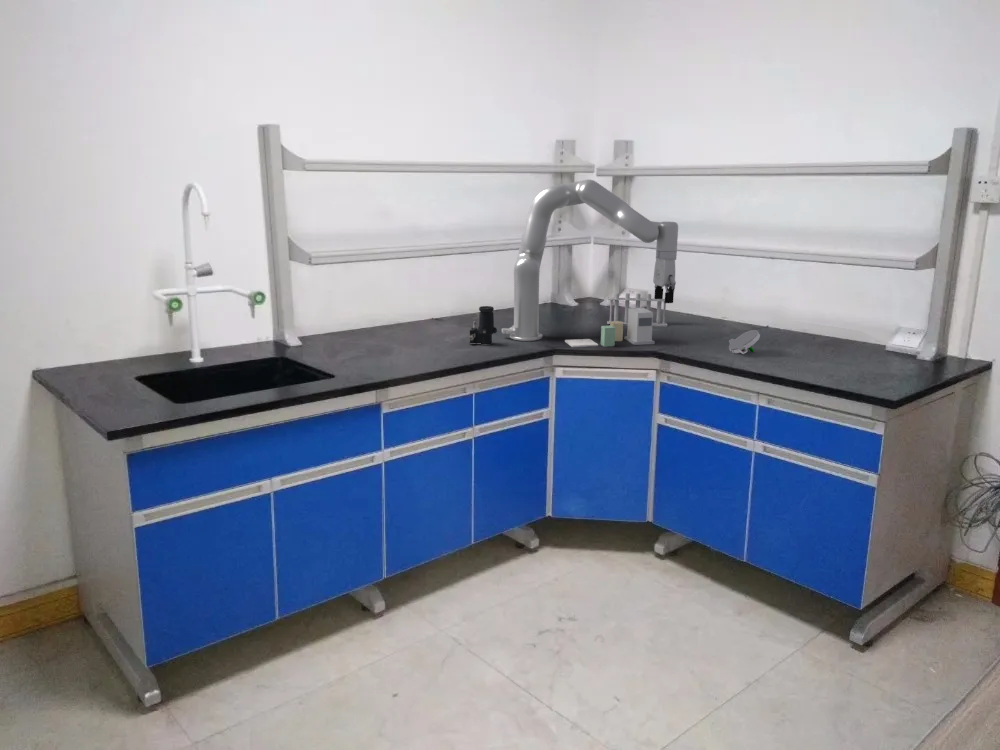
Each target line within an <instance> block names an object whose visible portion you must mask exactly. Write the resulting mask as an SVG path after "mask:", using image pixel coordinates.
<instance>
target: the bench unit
mask: <svg viewBox="0 0 1000 750" xmlns="http://www.w3.org/2000/svg"><path fill="white" fill-rule="evenodd" d="M653 320H654V311H651V310H650V311H649V310H647V309H646V308H644V307H640V308H636V307H629V308H628V325H627V331H626V332H627V334H626V335H624V336H623V337H624V338H623V340H626V341H627V342H629V343H631V344H632V345H634V346H636V345H637V346H638V345H641V346H642V345H644V346H645V345H655V343H656V342H655V340H653V339H652V338H653V327H654V326H653V322H654V321H653Z"/></svg>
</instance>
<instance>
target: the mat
mask: <svg viewBox="0 0 1000 750" xmlns="http://www.w3.org/2000/svg"><path fill="white" fill-rule="evenodd" d="M564 342H565V343H566V344H567V345H569V346H570V347H571V348H584V347H585V348H587V347H599V344H598V343H597V342H595V341H594V340H592V339H591V338H583V339H581V338H580V339H579V338H578V339H565V340H564Z"/></svg>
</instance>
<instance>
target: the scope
mask: <svg viewBox="0 0 1000 750" xmlns="http://www.w3.org/2000/svg"><path fill="white" fill-rule="evenodd" d="M478 311H479V313H478V314H479V316H478V317H479V319H478V328H477V321H474V320H473V323H472V327H471V329H469V335H468V336H469V337H468V340H469V344H470V343H481V344H491V343H492V344H493V337H492V335H493V334H496V333H498V329H497V327H496V326H495V323H494V318H495V317H494V306H489V305H482V306H479V307H478ZM481 344H480V345H481ZM492 344H491V345H492Z"/></svg>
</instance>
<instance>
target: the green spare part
mask: <svg viewBox="0 0 1000 750" xmlns="http://www.w3.org/2000/svg"><path fill="white" fill-rule="evenodd" d="M600 329H601V330H600V345H601V346H602V347H615V344H616V343H615V342H616V341H615V327H613V326H609V325H601V327H600Z"/></svg>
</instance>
